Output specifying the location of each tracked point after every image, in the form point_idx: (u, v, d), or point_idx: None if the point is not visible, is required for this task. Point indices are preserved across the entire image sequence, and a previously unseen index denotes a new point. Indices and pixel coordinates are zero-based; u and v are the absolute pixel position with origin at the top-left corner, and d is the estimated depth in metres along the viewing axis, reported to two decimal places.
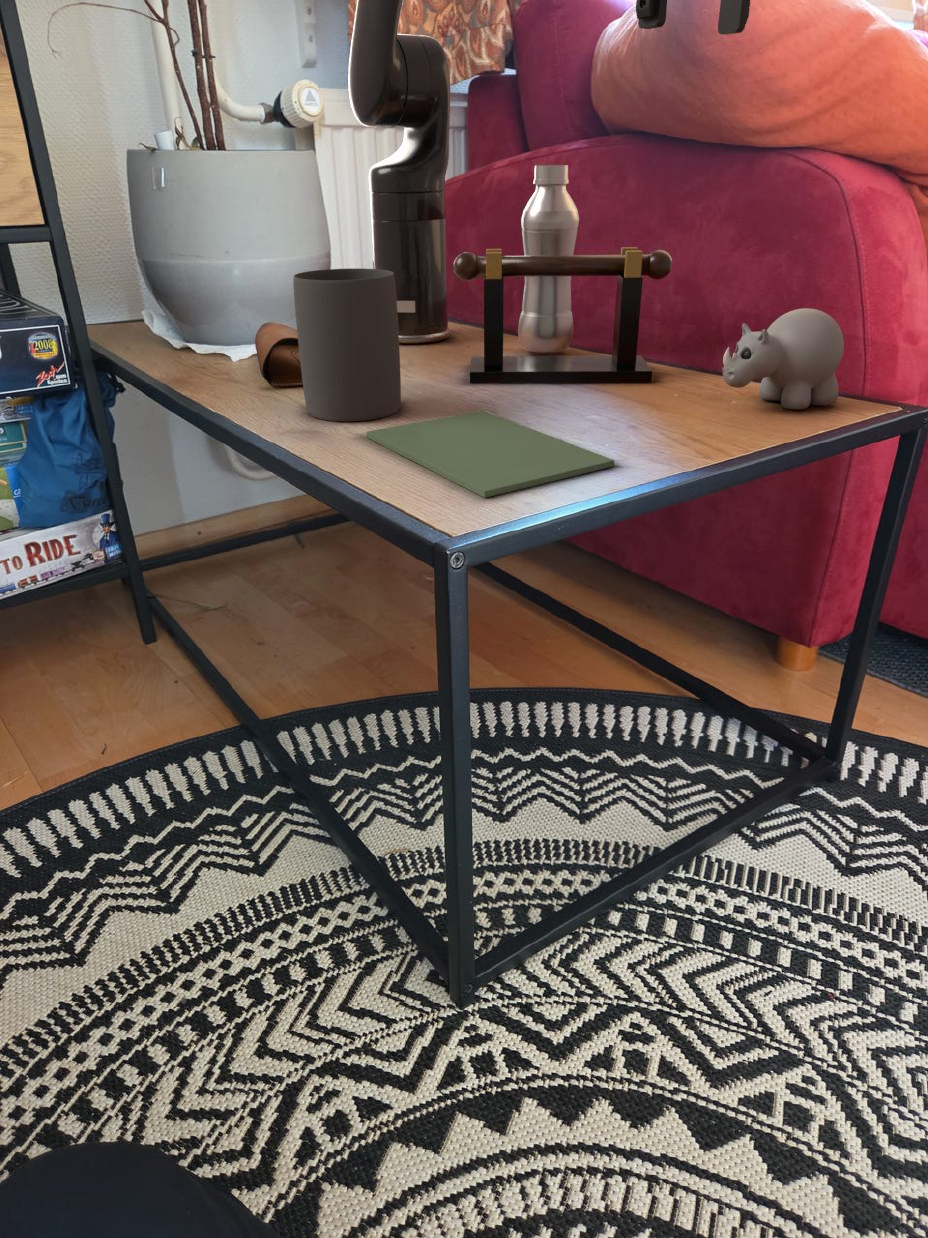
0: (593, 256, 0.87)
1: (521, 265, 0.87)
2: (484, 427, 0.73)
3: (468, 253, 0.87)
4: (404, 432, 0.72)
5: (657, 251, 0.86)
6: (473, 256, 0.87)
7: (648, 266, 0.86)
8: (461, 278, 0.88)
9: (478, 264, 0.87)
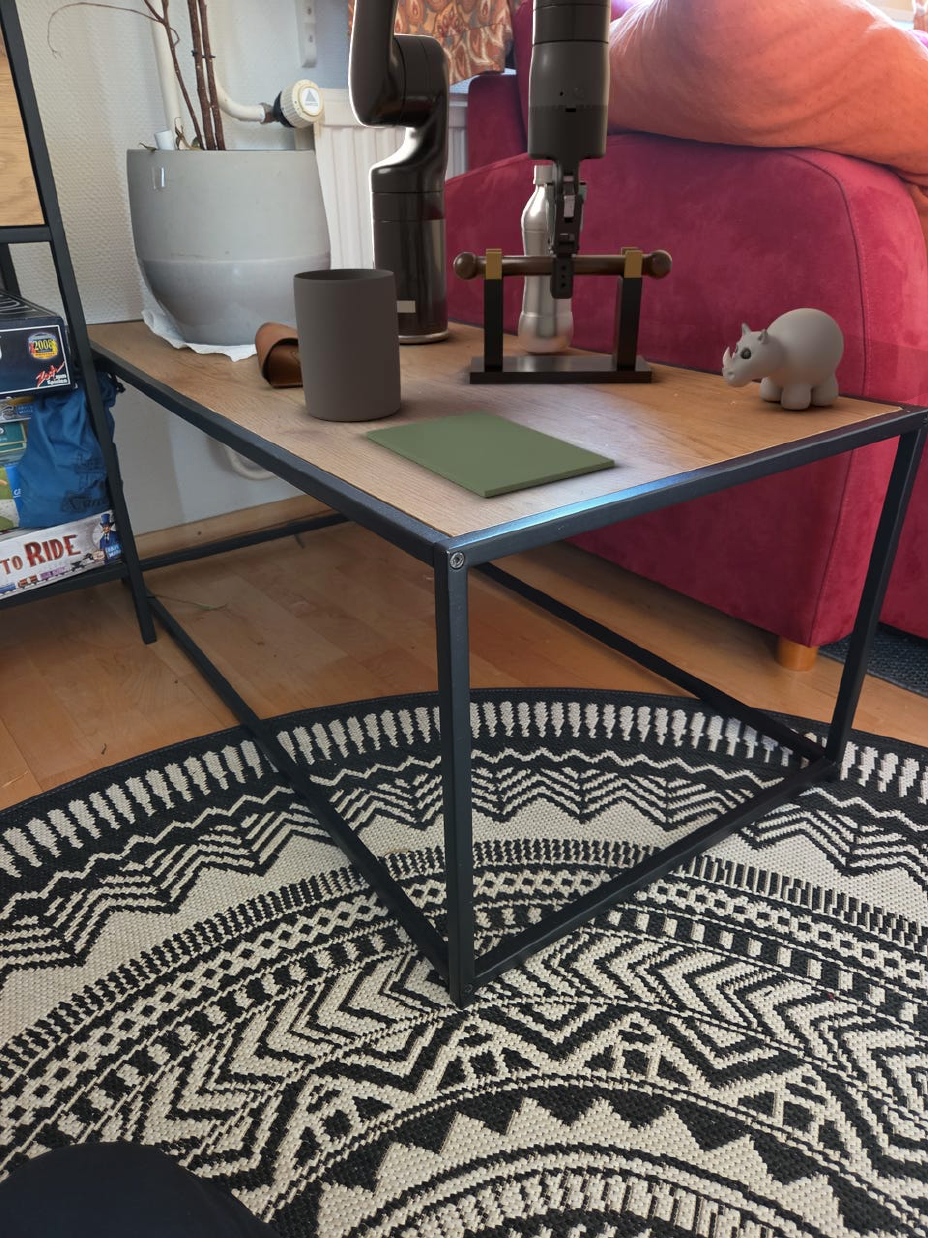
0: (593, 256, 0.87)
1: (521, 265, 0.87)
2: (484, 427, 0.73)
3: (468, 253, 0.87)
4: (404, 432, 0.72)
5: (657, 251, 0.86)
6: (473, 256, 0.87)
7: (648, 266, 0.86)
8: (461, 278, 0.88)
9: (478, 264, 0.87)
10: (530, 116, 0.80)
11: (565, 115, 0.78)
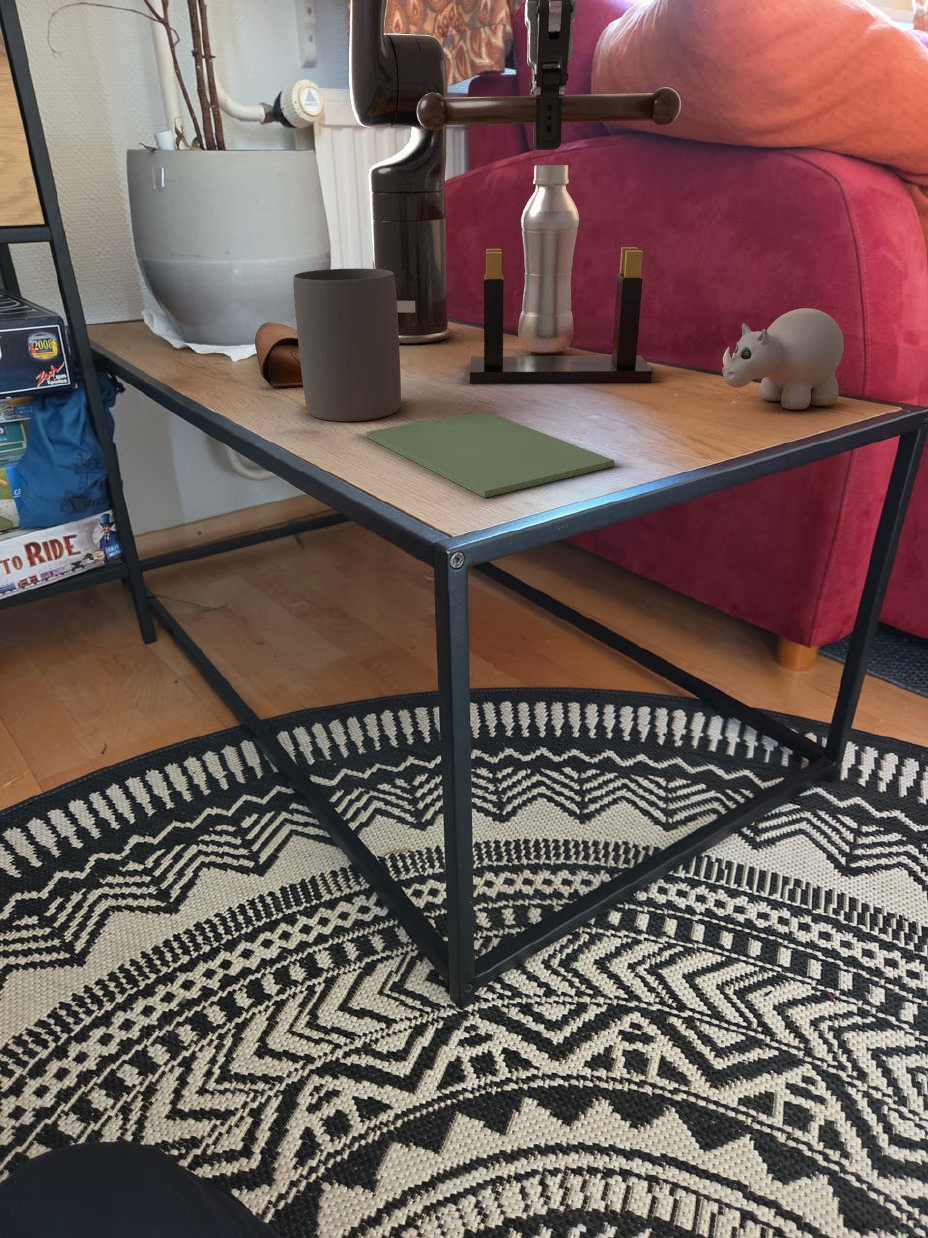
0: (585, 95, 0.72)
1: (499, 107, 0.72)
2: (484, 427, 0.73)
3: (434, 93, 0.72)
4: (404, 432, 0.72)
5: (662, 88, 0.71)
6: (441, 96, 0.72)
7: (652, 106, 0.72)
8: (427, 125, 0.73)
9: (447, 106, 0.72)
10: None
11: None
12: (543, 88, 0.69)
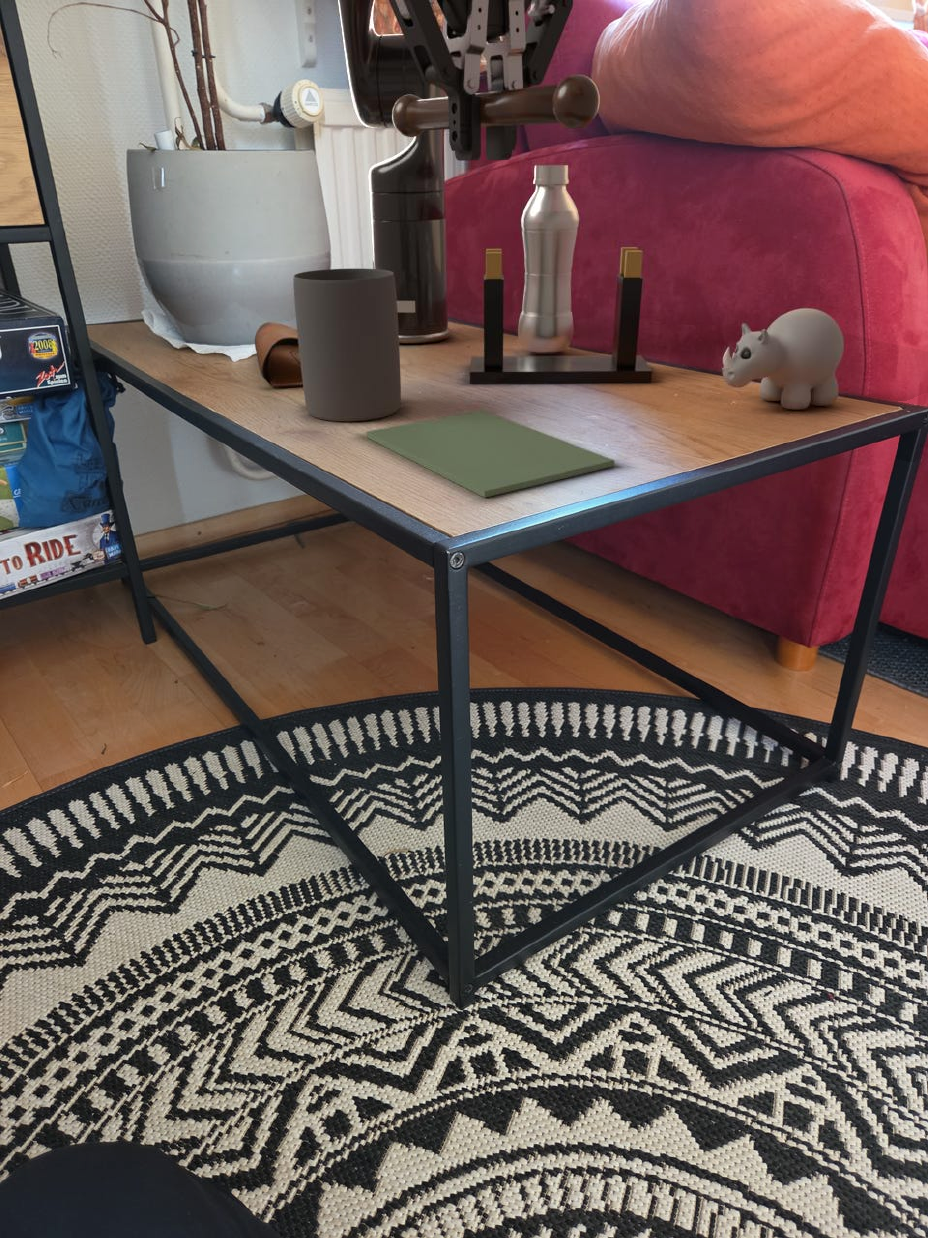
0: None
1: None
2: (484, 427, 0.73)
3: None
4: (404, 432, 0.72)
5: (416, 96, 0.64)
6: None
7: None
8: (590, 122, 0.51)
9: None
10: None
11: None
12: None
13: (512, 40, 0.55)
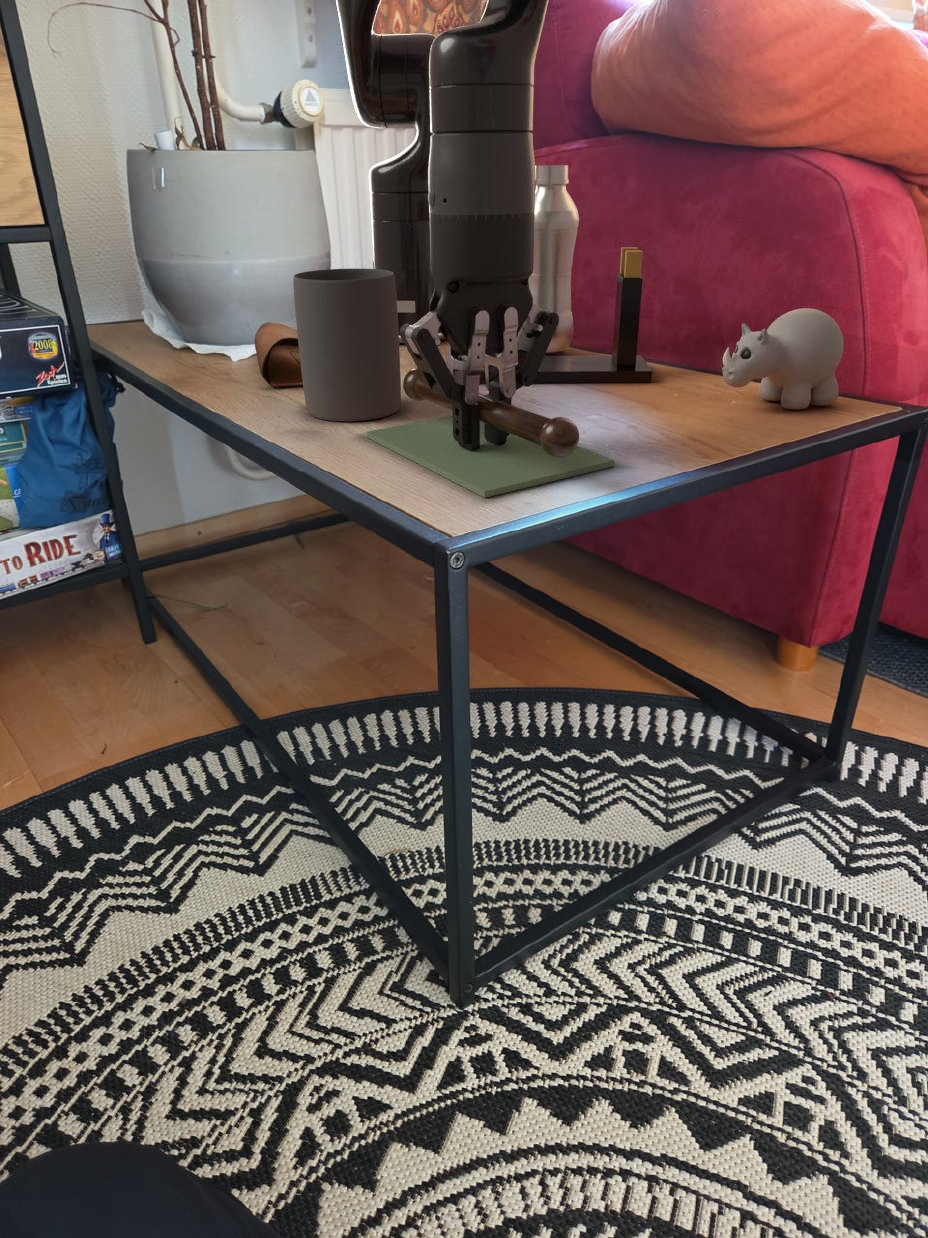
0: None
1: None
2: None
3: (562, 417, 0.60)
4: (404, 432, 0.72)
5: None
6: None
7: None
8: None
9: None
10: (523, 225, 0.59)
11: None
12: (519, 387, 0.68)
13: (506, 360, 0.65)
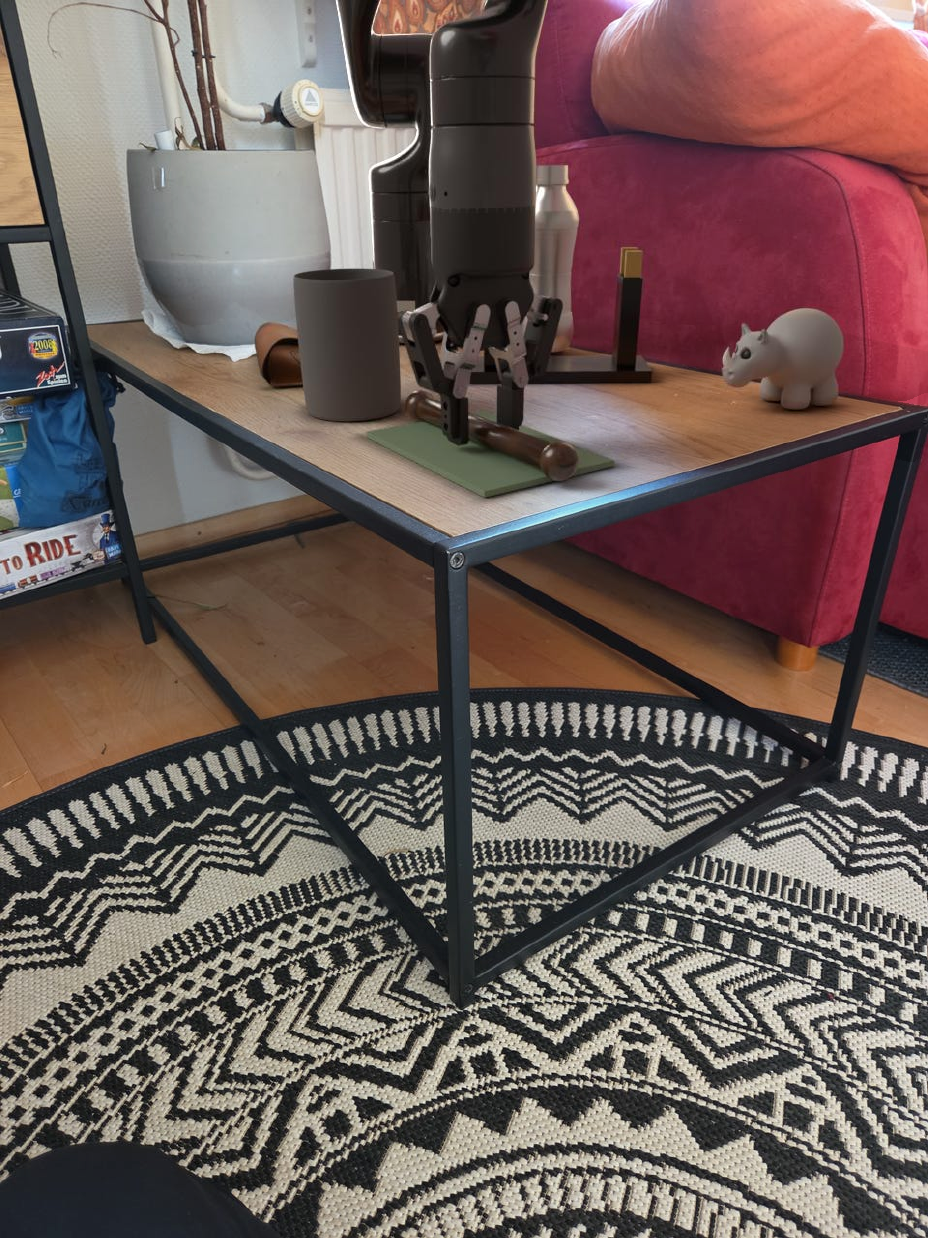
0: None
1: None
2: None
3: (562, 441, 0.61)
4: (404, 432, 0.72)
5: (425, 391, 0.75)
6: None
7: None
8: None
9: None
10: (524, 219, 0.59)
11: None
12: (532, 377, 0.68)
13: (514, 353, 0.65)
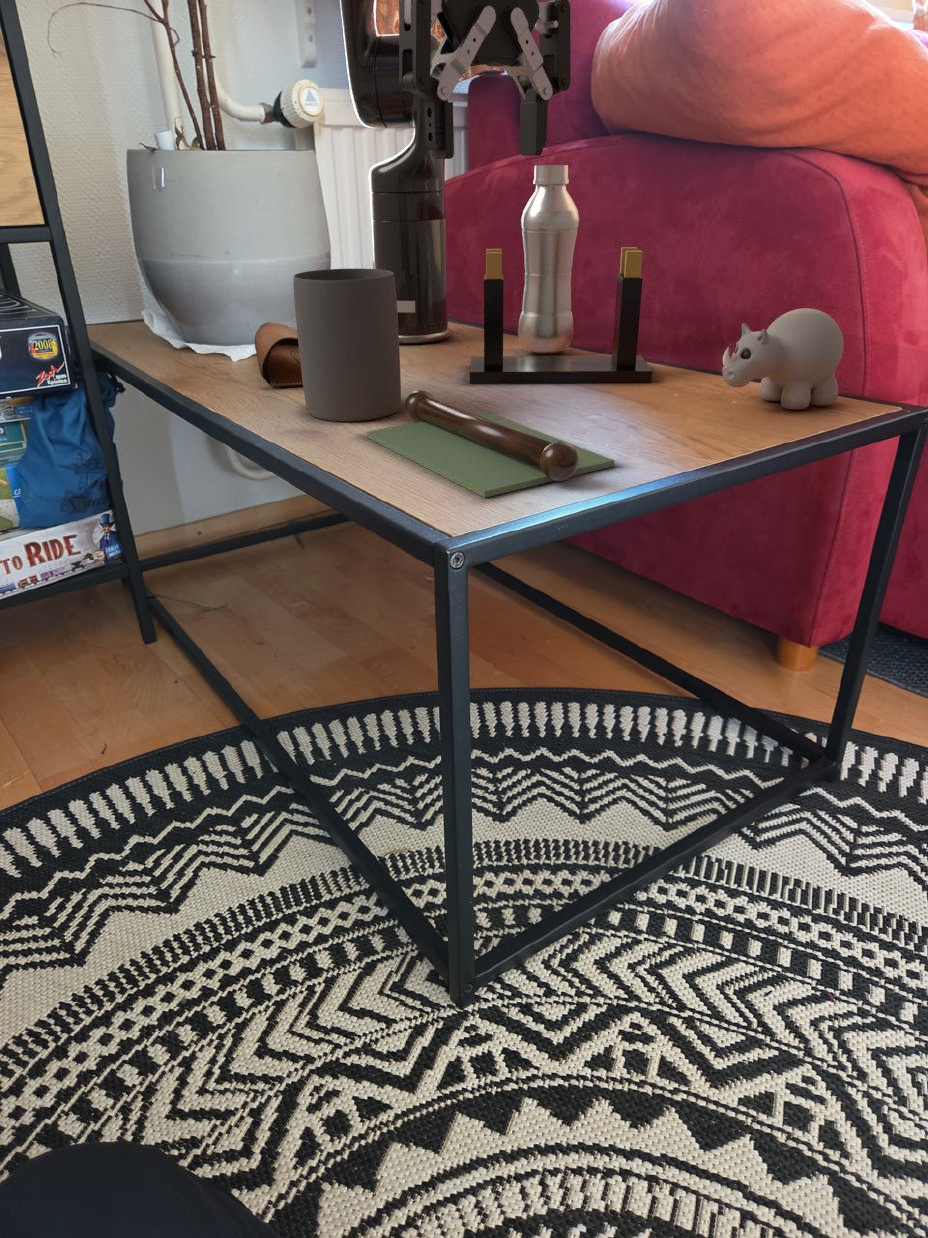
0: (465, 411, 0.70)
1: None
2: None
3: (562, 441, 0.61)
4: (404, 432, 0.72)
5: (425, 391, 0.75)
6: None
7: None
8: None
9: None
10: None
11: None
12: (555, 93, 0.68)
13: (532, 64, 0.65)
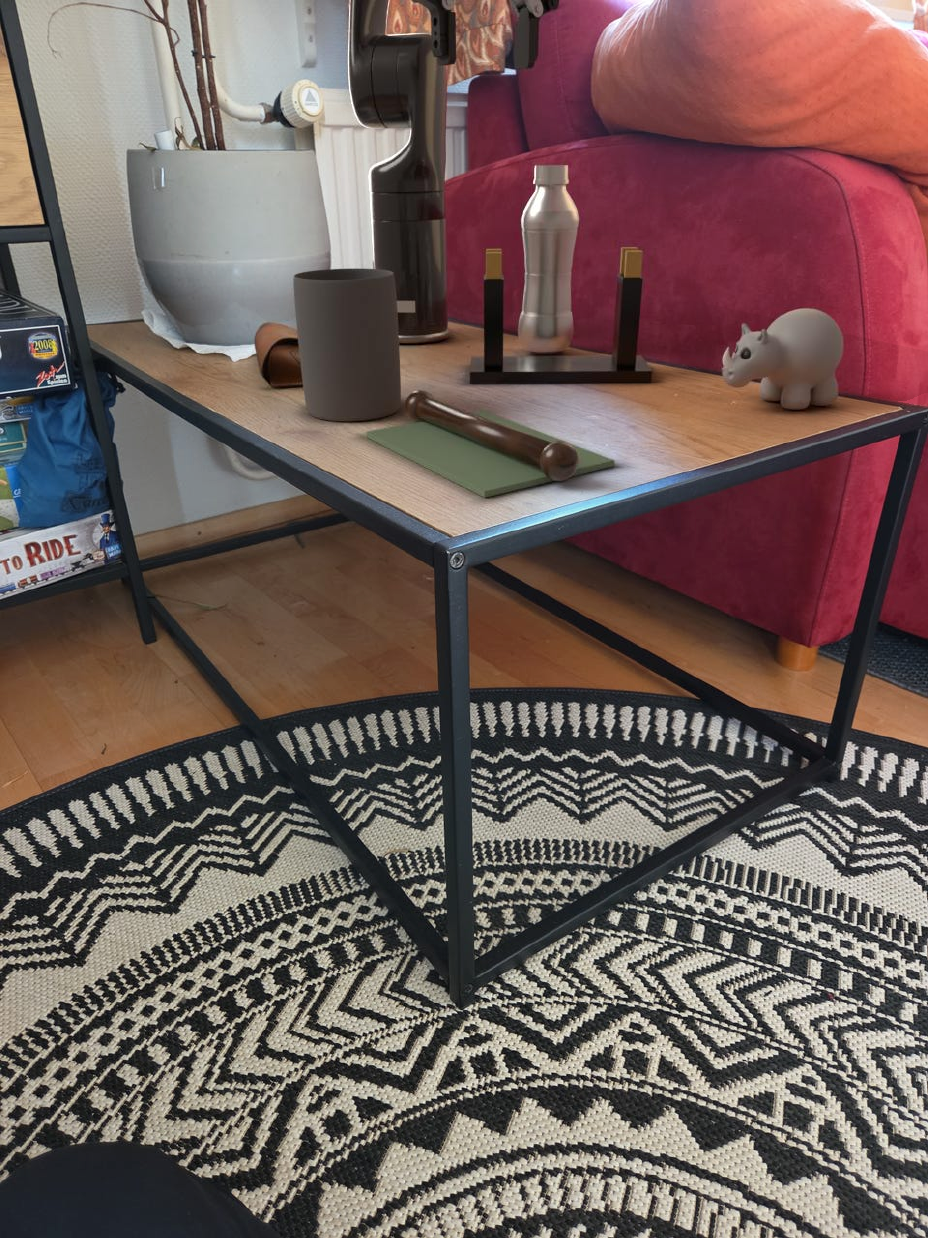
0: (465, 411, 0.70)
1: None
2: None
3: (562, 441, 0.61)
4: (404, 432, 0.72)
5: (425, 391, 0.75)
6: None
7: None
8: None
9: None
10: None
11: None
12: (546, 12, 0.78)
13: None
